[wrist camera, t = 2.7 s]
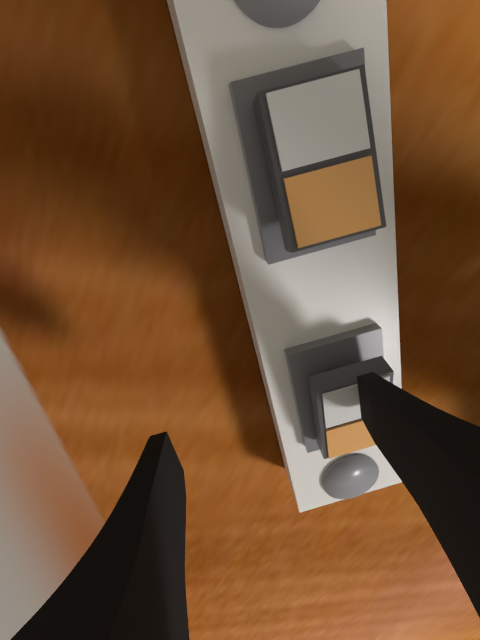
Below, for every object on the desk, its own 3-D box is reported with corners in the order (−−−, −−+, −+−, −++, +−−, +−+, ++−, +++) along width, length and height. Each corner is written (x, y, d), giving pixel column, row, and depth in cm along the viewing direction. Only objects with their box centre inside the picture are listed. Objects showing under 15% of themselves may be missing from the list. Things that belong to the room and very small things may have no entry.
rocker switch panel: (378, 441, 23) (410, 488, 20) (285, 468, 22) (302, 521, 19) (334, -90, 12) (390, -175, 9) (154, -46, 12) (146, -115, 9)
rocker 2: (378, 424, 17) (389, 442, 16) (316, 442, 17) (324, 461, 16) (381, 355, 14) (395, 373, 14) (308, 376, 14) (317, 395, 13)
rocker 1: (373, 225, 12) (388, 227, 11) (285, 250, 12) (292, 253, 11) (350, 76, 11) (366, 63, 10) (252, 101, 11) (258, 91, 10)
